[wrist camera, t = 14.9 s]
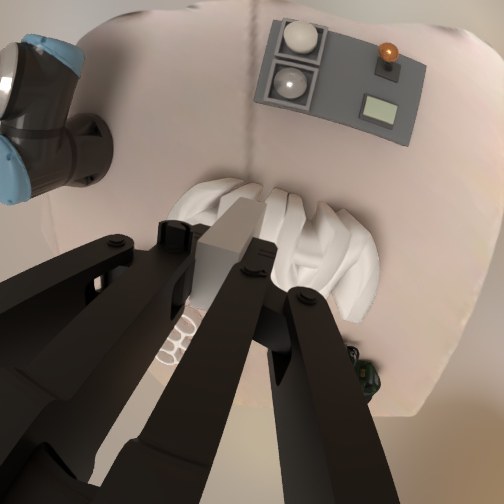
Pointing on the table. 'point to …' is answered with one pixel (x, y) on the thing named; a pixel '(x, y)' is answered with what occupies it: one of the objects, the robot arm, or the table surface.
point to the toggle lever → (388, 55)
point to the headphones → (364, 374)
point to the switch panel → (344, 82)
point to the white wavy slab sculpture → (299, 242)
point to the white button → (300, 37)
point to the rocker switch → (380, 110)
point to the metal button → (290, 83)
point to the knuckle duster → (179, 338)
